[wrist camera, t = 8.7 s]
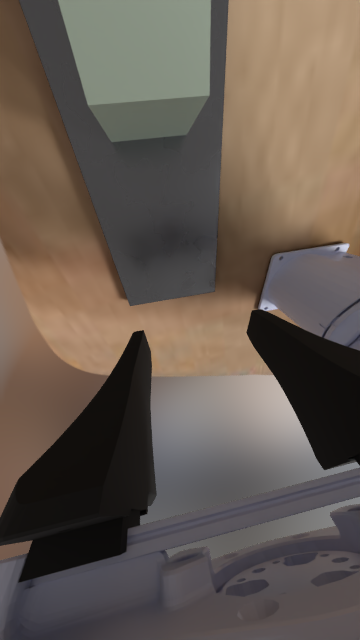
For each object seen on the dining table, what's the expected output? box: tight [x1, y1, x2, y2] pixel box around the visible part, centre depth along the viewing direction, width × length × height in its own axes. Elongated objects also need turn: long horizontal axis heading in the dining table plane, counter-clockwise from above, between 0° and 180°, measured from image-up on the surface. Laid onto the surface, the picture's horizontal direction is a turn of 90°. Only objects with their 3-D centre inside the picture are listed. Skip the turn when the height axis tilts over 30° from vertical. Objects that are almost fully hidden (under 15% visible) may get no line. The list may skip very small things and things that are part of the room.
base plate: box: [19, 0, 229, 306], centre depth 11 cm, size 10×20×4 cm, turn 6°
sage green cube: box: [58, 0, 211, 142], centre depth 7 cm, size 5×5×5 cm
